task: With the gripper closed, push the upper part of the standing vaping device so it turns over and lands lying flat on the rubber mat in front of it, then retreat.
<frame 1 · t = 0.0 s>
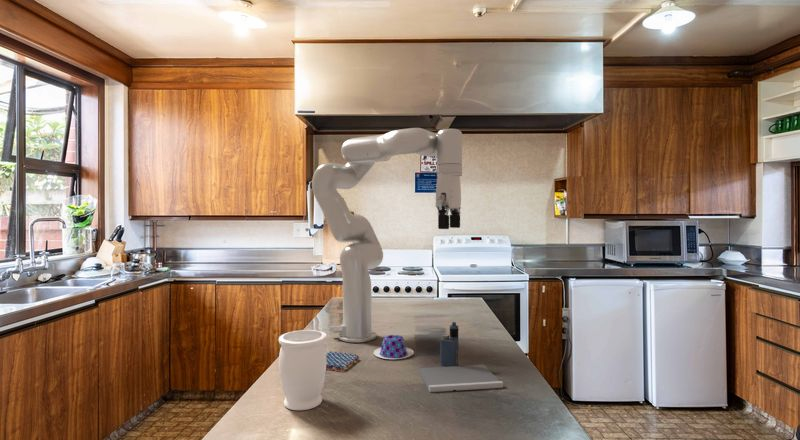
hand: (449, 228, 131), 37 cm above the counter, tool pointing down, fingers open, 9 cm apart
rubber mat: (458, 377, 111), on the counter
woven mat: (335, 366, 122), on the counter
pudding: (393, 355, 130), on the counter
jar: (303, 403, 97), on the counter
vaping device: (449, 366, 120), on the counter
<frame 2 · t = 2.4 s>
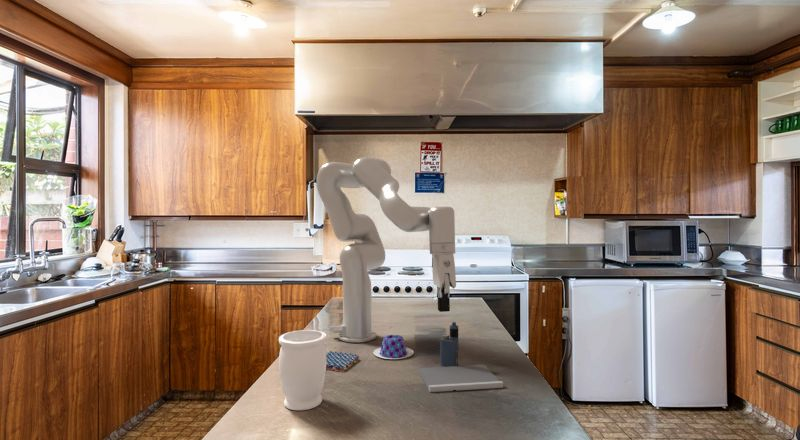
hand: (443, 310, 129), 13 cm above the counter, tool pointing down, fingers closed
nothing on the counter moved.
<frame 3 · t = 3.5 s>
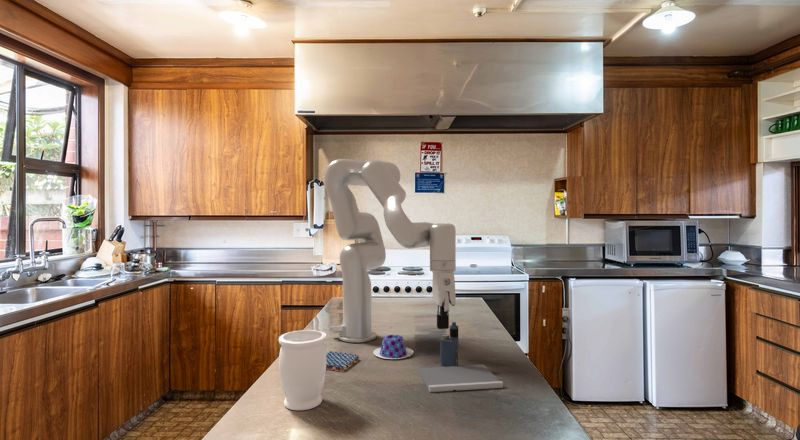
hand: (442, 328, 128), 8 cm above the counter, tool pointing down, fingers closed
nothing on the counter moved.
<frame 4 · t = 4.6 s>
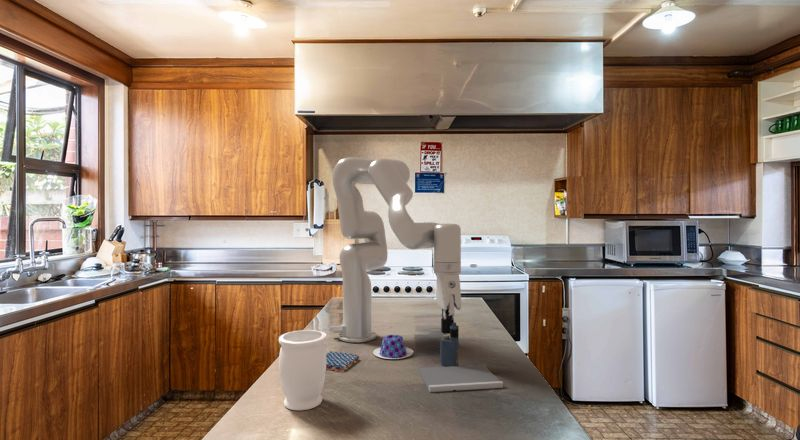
hand: (447, 332, 123), 8 cm above the counter, tool pointing down, fingers closed
vaping device: (449, 366, 120), on the counter, touching gripper
everything else where it was.
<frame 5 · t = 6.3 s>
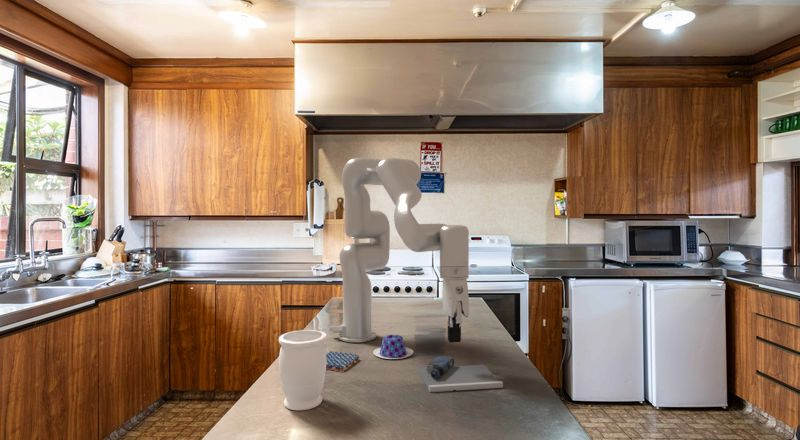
hand: (454, 341, 115), 8 cm above the counter, tool pointing down, fingers closed
vaping device: (446, 360, 119), point 2 cm above the counter, touching rubber mat
everything else where it was.
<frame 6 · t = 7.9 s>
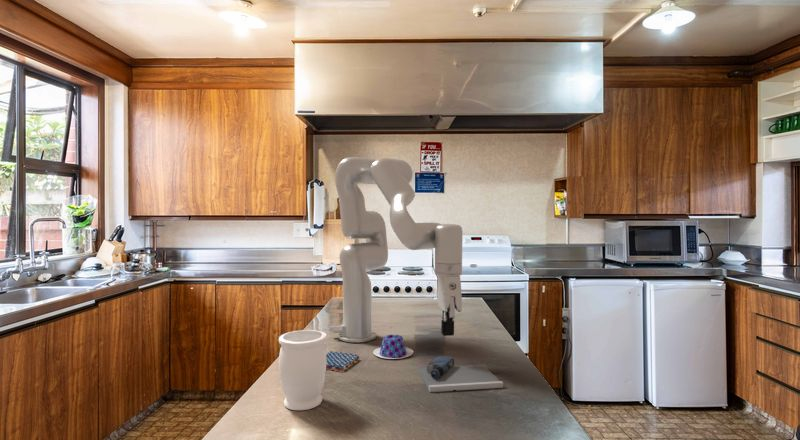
hand: (447, 334, 121), 8 cm above the counter, tool pointing down, fingers closed
nothing on the counter moved.
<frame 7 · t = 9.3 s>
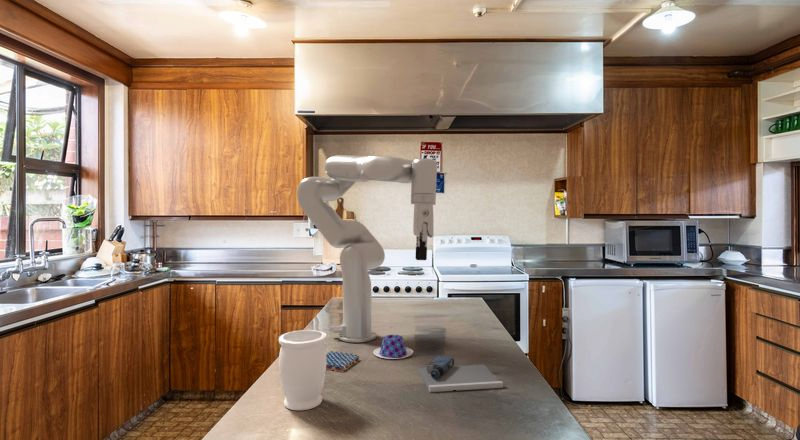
hand: (421, 259, 134), 28 cm above the counter, tool pointing down, fingers closed
nothing on the counter moved.
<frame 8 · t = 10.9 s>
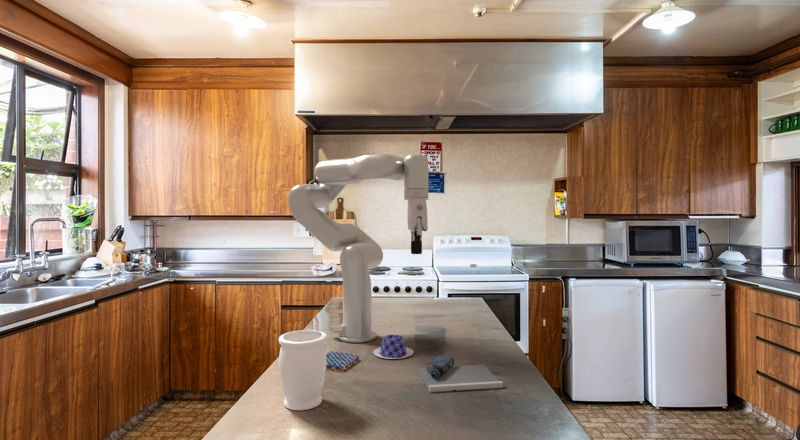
hand: (416, 253, 137), 29 cm above the counter, tool pointing down, fingers closed
nothing on the counter moved.
at the end: vaping device tilted 90°; vaping device inside the target area (7.5 cm from its centre), point 1.6 cm above the counter; vaping device touching rubber mat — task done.
